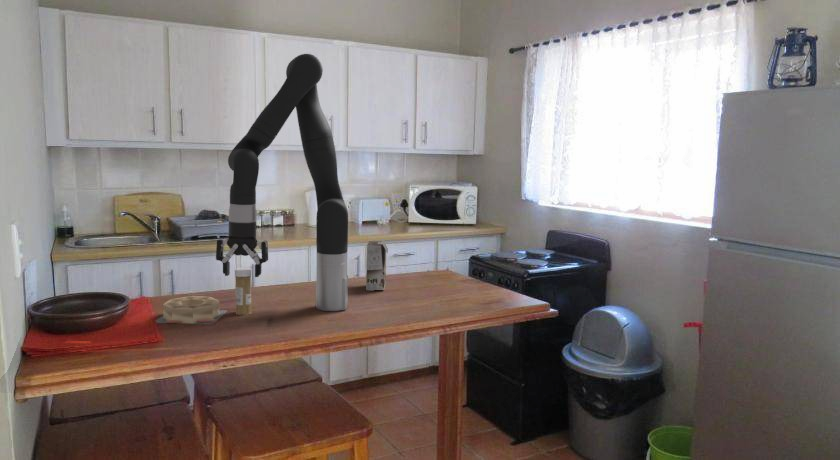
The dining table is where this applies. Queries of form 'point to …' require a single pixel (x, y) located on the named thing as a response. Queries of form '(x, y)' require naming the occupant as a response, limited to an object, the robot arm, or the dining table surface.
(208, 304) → the octagonal faceted ring
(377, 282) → the coffee box
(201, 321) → the reddish pink rod
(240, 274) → the sprinkles bottle
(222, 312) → the mat
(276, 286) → the dining table surface
